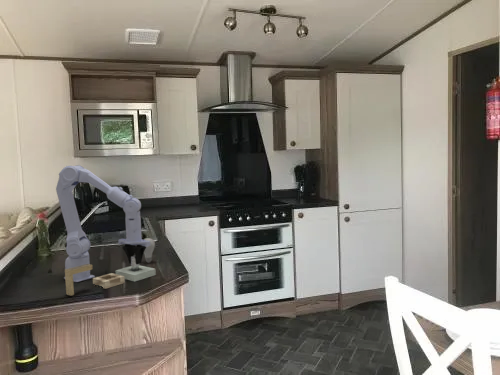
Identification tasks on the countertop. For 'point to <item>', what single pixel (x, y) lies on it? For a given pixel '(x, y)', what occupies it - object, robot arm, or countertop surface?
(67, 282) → the tan l-shaped wooden piece
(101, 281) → the socket block
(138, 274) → the pale grey flat frame
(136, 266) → the steel pin
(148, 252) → the lightbulb
